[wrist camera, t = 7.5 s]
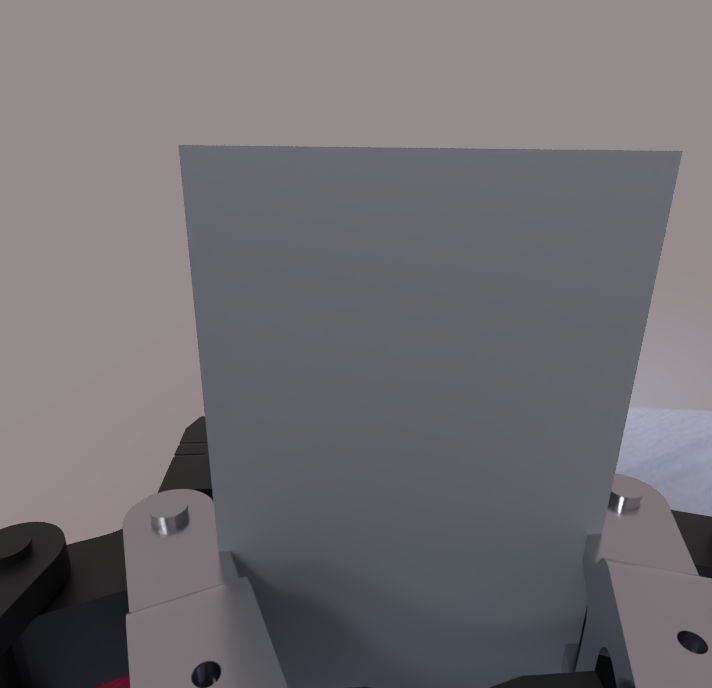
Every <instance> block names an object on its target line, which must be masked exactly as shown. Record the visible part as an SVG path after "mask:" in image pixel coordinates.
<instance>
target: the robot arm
mask: <svg viewBox="0 0 712 688" xmlns="http://www.w3.org/2000/svg"><path fill="white" fill-rule="evenodd" d="M582 564H583V570H584V576H585V582H586V588H587V608H586V613H585V618H584V622H583V627H582V632H581V637H580V641H579V643H573V644H566V645H565V650H564V655H563V660H562V665H561V670H562V673H555V674H540V675H526V676H520V677H517V678H514V679H512V680H509V681H506V682H503V683H501V684H498V685H495V686H492V687H490V688H712V517H711V516H704V515H698V514H692V513H686V512H680V511H674V510H670V508H669V505H668V503H667V501H666V500H665V498H664V497H663V496H662V495H661V494H660V493H659V492H658V491H657V490H655V489H654V488H652V487H651V486H649V485H647V484H645V483H644V482H641V481H639V480H637V479H634V478H631V477H628V476H624V475H620V474H615V475H614V479H613V484H612V489H611V494H610V498H609V503H608V508H607V513H606V518H605V522H604V527H603V532H602V534H588V535H587V540H586V545H585V550H584V555H583V560H582ZM126 675H130V688H288V686H287V684H286V681H285V678H284V675H283V672H282V670H281V667H280V664H279V661H278V659H277V656H276V653H275V650H274V647H273V645H272V642H271V639H270V636H269V633H268V631H267V628H266V625H265V622H264V619H263V617H262V614H261V611H260V608H259V606H258V603H257V600H256V597H255V594H254V592H253V589H252V586H251V584H250V582H249V579H248V578H247V577H246V576H244V577H241V578H239V576H238V573H237V570H236V567H235V564H234V561H233V558H232V555H231V552H230V551H224V552H218V544H217V533H216V523H215V513H214V503H213V492H212V482H211V472H210V462H209V451H208V441H207V431H206V421H205V416H202V417H200V418H199V419H197V420H196V421H195V422H194V423H192V424H191V425H190V426H189V427H187V428H186V430H185V432H184V434H183V437H182V439H181V441H180V446H178V448H177V450H176V453H175V457H174V458H173V460H172V462H171V464H170V466H169V468H168V471H167V473H166V475H165V477H164V480H163V482H162V484H161V487H160V489H159V491H158V493H157V494H155V495H152V496H149V497H147V498H145V499H143V500H142V501H140V502H139V503H137V504H136V505H135V506H134V507H132V509H131V510H130V511H129V512H128V513H127V515H126V516H125V519H124V521H123V529H121V530H119V531H116V532H113V533H110V534H107V535H104V536H100V537H96V538H92V539H89V540H85V541H80V542H77V543H73V544H69V545H66V540H65V536H64V533H63V531H62V530H61V529H60V528H59V527H57V526H55V525H53V524H50V523H45V522H28V523H21V524H17V525H12V526H9V527H6V528H3V529H1V530H0V688H92V687H95V686H98V685H100V684H103V683H106V682H109V681H112V680H115V679H117V678H120V677H123V676H126ZM353 688H371V687H353Z"/></svg>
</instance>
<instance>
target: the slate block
mask: <svg viewBox="0 0 712 688" xmlns="http://www.w3.org/2000/svg"><path fill="white" fill-rule="evenodd" d="M179 155H180V164H181V175H182V185H183V196H184V206H185V215H186V226H187V237H188V247H189V257H190V267H191V277H192V287H193V297H194V308H195V318H196V329H197V339H198V349H199V359H200V369H201V380H202V390H203V399H204V411H205V421H206V431H207V441H208V451H209V462H210V472H211V482H212V492H213V503H214V513H215V523H216V533H217V544H218V552H224V551H230V552H231V555H232V558H233V561H234V564H235V567H236V570H237V573H238V576H239V578H241V577H244V576H246V577H247V578H248V579H249V582H250V584H251V586H252V589H253V592H254V594H255V597H256V600H257V603H258V606H259V608H260V611H261V614H262V617H263V619H264V622H265V625H266V628H267V631H268V633H269V636H270V639H271V642H272V645H273V647H274V650H275V653H276V656H277V659H278V661H279V664H280V667H281V670H282V672H283V675H284V678H285V681H286V684H287V686H288V688H353V687H371V688H490V687H492V686H495V685H498V684H501V683H503V682H506V681H509V680H512V679H514V678H517V677H520V676H526V675H540V674H555V673H562V670H561V665H562V660H563V655H564V650H565V645H566V644H573V643H579V641H580V637H581V632H582V627H583V622H584V618H585V613H586V608H587V588H586V582H585V576H584V570H583V564H582V560H583V555H584V550H585V545H586V540H587V535H588V534H602V532H603V527H604V522H605V518H606V513H607V508H608V503H609V498H610V494H611V489H612V484H613V479H614V475H615V470H616V465H617V460H618V456H619V451H620V446H621V441H622V437H623V432H624V427H625V422H626V418H627V413H628V408H629V403H630V398H631V394H632V389H633V384H634V379H635V374H636V370H637V365H638V360H639V356H640V351H641V346H642V341H643V336H644V332H645V327H646V322H647V318H648V312H649V308H650V303H651V298H652V294H653V289H654V284H655V279H656V274H657V270H658V265H659V260H660V256H661V251H662V246H663V241H664V237H665V232H666V227H667V222H668V217H669V213H670V208H671V203H672V198H673V194H674V189H675V184H676V179H677V174H678V170H679V165H680V160H681V156H682V151H622V150H619V151H618V150H612V151H611V150H539V149H537V150H536V149H533V150H532V149H455V148H451V149H450V148H449V149H448V148H370V147H289V146H284V147H283V146H205V145H204V146H203V145H179Z"/></svg>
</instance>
